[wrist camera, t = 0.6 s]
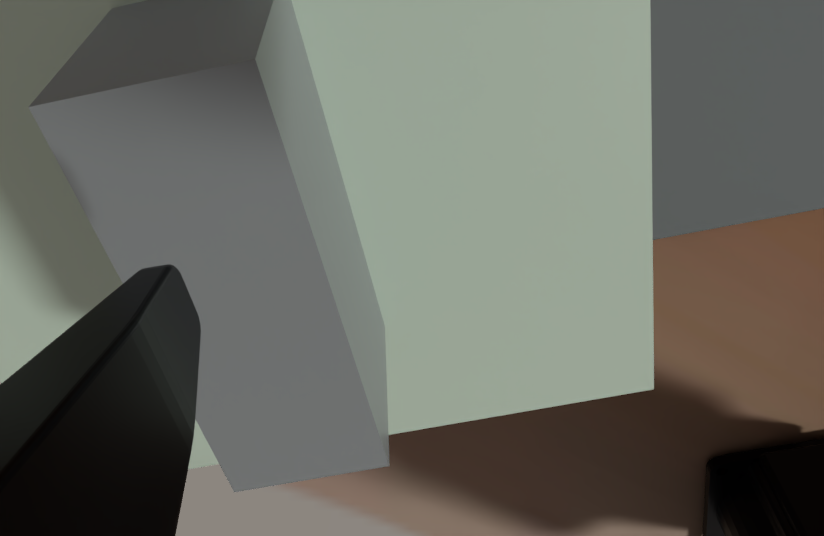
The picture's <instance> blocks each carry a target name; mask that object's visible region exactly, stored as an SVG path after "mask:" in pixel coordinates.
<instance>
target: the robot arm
mask: <svg viewBox="0 0 824 536" xmlns="http://www.w3.org/2000/svg"><path fill="white" fill-rule="evenodd" d="M200 340H201V325H200V320H199V316H198V313H197V311H196V308H195V306H194V303H193V301H192V299H191V296H190V294H189V292H188V289H187V287H186V285H185V282H184V280H183V278H182V275H181V273H180V272H179V270H178V269H177V268H176V267H175V266H173V265H171V264H167V265H160V266H154V267H148V268H143V269H140V270H139V271H138V272H136V273H135V274H134V275H133V276H132V277H130V278H129V279H128V280H127V281H126V282H124V283H123V284H122V285H121V286H119V287H118V288H117V289H116V290H115V291H113V292H112V293H111V294H110V295H108V296H107V297H106V298H105V299H104V300H102V301H101V302H100V303H99V304H98V305H96V306H95V307H94V308H93V309H91V310H90V311H89V312H88V313H87V314H85V315H84V316H83V317H82V318H81V319H79V320H78V321H77V322H76V323H74V324H73V325H72V326H71V327H70V328H68V329H67V330H66V331H65V332H63V333H62V334H61V335H60V336H59V337H57V338H56V339H55V340H54V341H53V342H51V343H50V344H49V345H48V346H46V347H45V348H44V349H43V350H42V351H40V352H39V353H38V354H37V355H36V356H34V357H33V358H32V359H31V360H29V361H28V362H27V363H26V364H25V365H23V366H22V367H21V368H20V369H18V370H17V371H16V372H15V373H14V374H12V375H11V376H10V377H9V378H8V379H6V380H5V381H4V382H3V383H1V384H0V536H175V534H176V529H177V523H178V518H179V513H180V508H181V503H182V497H183V491H184V487H185V482H186V476H187V471H188V466H189V461H190V456H191V450H192V444H193V438H194V429H195V418H196V402H197V387H198V371H199V356H200ZM703 536H824V439H820V440H814V441H808V442H802V443H796V444H790V445H784V446H778V447H772V448H766V449H759V450H753V451H747V452H741V453H735V454H729V455H723V456H718V457H714V458H713V459H711V460H710V461H709V462H708V463H707V465H706V482H705V501H704V520H703Z"/></svg>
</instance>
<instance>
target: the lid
mask: <svg viewBox="0 0 824 536" xmlns="http://www.w3.org/2000/svg"><path fill="white" fill-rule="evenodd" d="M167 264H171V265H173V266H175V267H176V268H177V269H178V270H179V272H180V273H181V275H182V278H183V280H184V282H185V285H186V287H187V289H188V292H189V294H190V296H191V299H192V301H193V303H194V306H195V308H196V311H197V313H198V316H199V320H200V325H201V340H200V356H199V371H198V387H197V402H196V418H195V429H194V438H193V444H192V450H191V456H190V461H189V466H188V469H194V468H199V467H205V466H211V465H217V464H220V466H221V468H222V470H223V472H224V474H225V476H226V477H227V479H228V481H229V483H230V485H231V487H232V489H233V490H234V492H238V491H244V490H250V489H256V488H262V487H268V486H274V485H280V484H286V483H292V482H298V481H303V480H309V479H315V478H321V477H327V476H333V475H339V474H345V473H351V472H357V471H363V470H369V469H375V468H380V467H386V466H390V465H389V435H391V434H397V433H403V432H409V431H415V430H420V429H426V428H432V427H438V426H444V425H450V424H455V423H461V422H467V421H473V420H479V419H484V418H490V417H496V416H502V415H508V414H514V413H519V412H525V411H531V410H537V409H543V408H548V407H554V406H560V405H566V404H572V403H578V402H583V401H589V400H595V399H601V398H607V397H612V396H618V395H624V394H630V393H636V392H641V391H647V390H653V389H654V332H653V224H652V116H651V8H650V0H0V382H1V383H3V382H4V381H5V380H6V379H8V378H9V377H10V376H11V375H12V374H14V373H15V372H16V371H17V370H18V369H20V368H21V367H22V366H23V365H25V364H26V363H27V362H28V361H29V360H31V359H32V358H33V357H34V356H36V355H37V354H38V353H39V352H40V351H42V350H43V349H44V348H45V347H46V346H48V345H49V344H50V343H51V342H53V341H54V340H55V339H56V338H57V337H59V336H60V335H61V334H62V333H63V332H65V331H66V330H67V329H68V328H70V327H71V326H72V325H73V324H74V323H76V322H77V321H78V320H79V319H81V318H82V317H83V316H84V315H85V314H87V313H88V312H89V311H90V310H91V309H93V308H94V307H95V306H96V305H98V304H99V303H100V302H101V301H102V300H104V299H105V298H106V297H107V296H108V295H110V294H111V293H112V292H113V291H115V290H116V289H117V288H118V287H119V286H121V285H122V284H123V283H124V282H126V281H127V280H128V279H129V278H130V277H132V276H133V275H134V274H135V273H136V272H138V271H139V270H140V269H143V268H148V267H154V266H160V265H167Z"/></svg>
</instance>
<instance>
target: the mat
mask: <svg viewBox="0 0 824 536" xmlns="http://www.w3.org/2000/svg"><path fill="white" fill-rule="evenodd" d="M650 8H651V116H652V224H653V240H655V239H660V238H665V237H671V236H676V235H681V234H687V233H692V232H698V231H703V230H708V229H714V228H719V227H724V226H730V225H735V224H740V223H746V222H751V221H757V220H762V219H767V218H773V217H778V216H783V215H789V214H794V213H799V212H805V211H810V210H816V209H821V208H824V0H650Z"/></svg>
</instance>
